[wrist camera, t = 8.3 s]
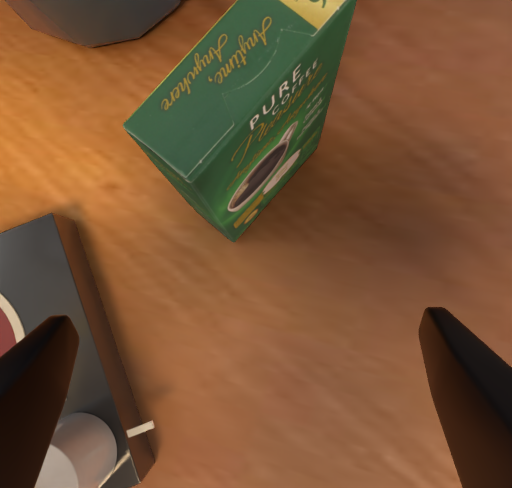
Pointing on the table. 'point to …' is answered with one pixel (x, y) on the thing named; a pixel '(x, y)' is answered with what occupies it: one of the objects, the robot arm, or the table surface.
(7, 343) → the cooking zone
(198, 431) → the table surface
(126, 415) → the hob
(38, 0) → the wine bottle
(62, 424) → the hob knob
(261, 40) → the coffee box
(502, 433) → the robot arm
